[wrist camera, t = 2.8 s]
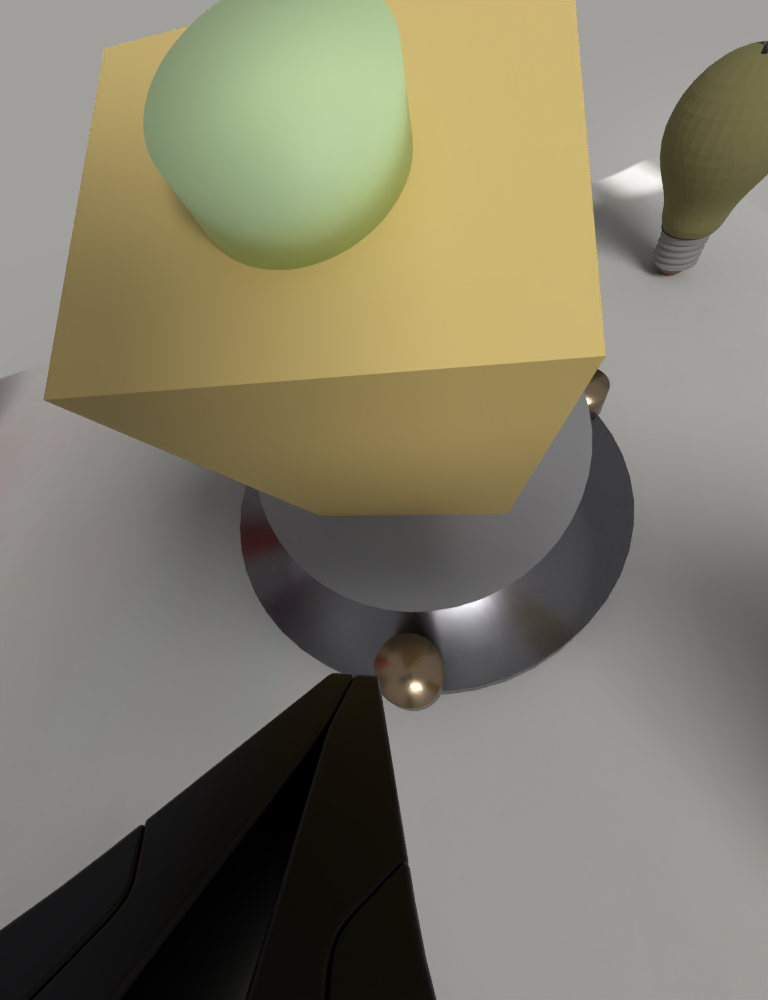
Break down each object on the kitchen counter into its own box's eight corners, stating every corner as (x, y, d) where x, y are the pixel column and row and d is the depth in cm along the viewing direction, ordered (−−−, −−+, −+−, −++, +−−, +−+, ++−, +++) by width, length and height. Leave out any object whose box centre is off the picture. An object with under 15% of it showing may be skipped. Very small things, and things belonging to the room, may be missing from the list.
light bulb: (745, 278, 25) (887, 35, 16) (658, 310, 25) (755, 82, 16) (681, 235, 28) (773, 11, 19) (603, 264, 28) (661, 51, 19)
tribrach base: (674, 734, 14) (727, 730, 12) (206, 697, 18) (154, 686, 15) (587, 358, 24) (604, 303, 21) (290, 381, 27) (268, 336, 24)
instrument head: (595, 615, 15) (1361, 840, 2) (257, 604, 17) (-319, 677, 5) (572, 288, 17) (869, -537, 4) (277, 320, 20) (-72, -151, 7)
